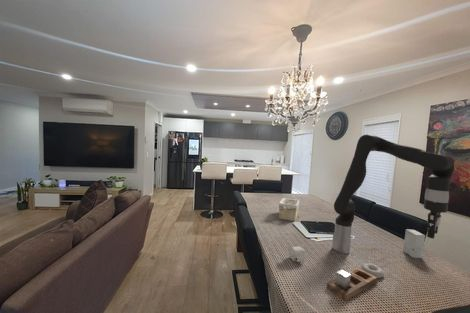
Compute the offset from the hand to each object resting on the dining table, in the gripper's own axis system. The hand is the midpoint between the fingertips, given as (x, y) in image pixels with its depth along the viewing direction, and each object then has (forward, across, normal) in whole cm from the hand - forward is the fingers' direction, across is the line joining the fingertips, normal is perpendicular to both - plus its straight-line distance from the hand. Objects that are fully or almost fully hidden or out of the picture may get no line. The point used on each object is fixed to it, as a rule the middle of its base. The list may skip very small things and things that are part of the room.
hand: (432, 235), depth 92 cm
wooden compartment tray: (+28, +22, -23) cm, 42 cm away
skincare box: (+28, -42, -12) cm, 52 cm away
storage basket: (+29, -33, -99) cm, 109 cm away
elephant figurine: (+29, +24, -51) cm, 64 cm away
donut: (+28, +2, -21) cm, 35 cm away
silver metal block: (+28, +30, -24) cm, 47 cm away
